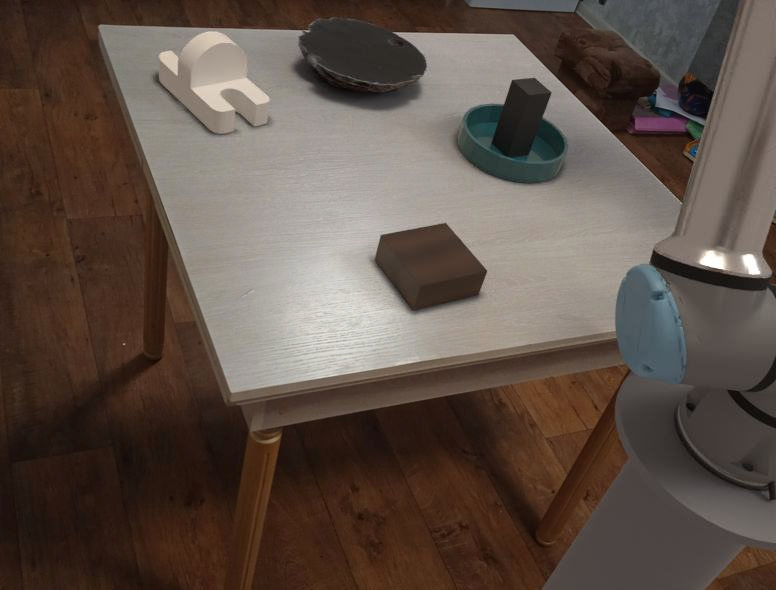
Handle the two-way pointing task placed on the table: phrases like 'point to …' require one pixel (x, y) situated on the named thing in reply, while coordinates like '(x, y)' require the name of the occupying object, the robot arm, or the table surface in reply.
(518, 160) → the tin
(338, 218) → the table surface
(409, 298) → the stand
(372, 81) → the dark grey round slab
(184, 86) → the slotted bracket
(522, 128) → the pillar
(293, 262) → the table surface
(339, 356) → the table surface
